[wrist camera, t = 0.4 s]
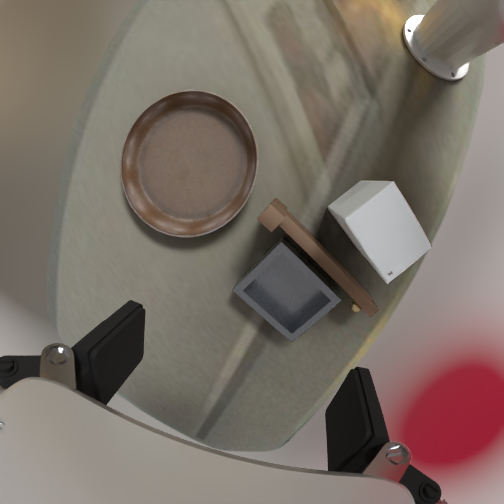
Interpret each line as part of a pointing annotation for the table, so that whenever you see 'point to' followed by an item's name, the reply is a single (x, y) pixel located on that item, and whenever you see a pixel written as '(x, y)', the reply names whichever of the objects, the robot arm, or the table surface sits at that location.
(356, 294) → the brown l-shaped wood piece
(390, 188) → the small box
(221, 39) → the table surface
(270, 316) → the gray square tray
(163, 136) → the plant saucer
